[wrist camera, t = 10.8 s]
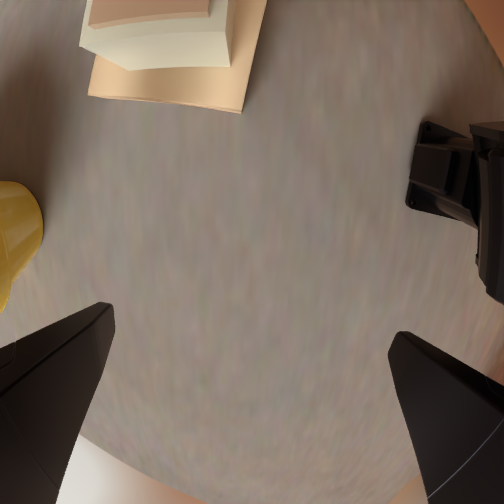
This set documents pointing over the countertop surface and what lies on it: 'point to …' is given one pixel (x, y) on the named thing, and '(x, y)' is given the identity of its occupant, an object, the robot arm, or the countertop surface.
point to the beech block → (189, 72)
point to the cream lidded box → (160, 32)
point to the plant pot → (17, 233)
